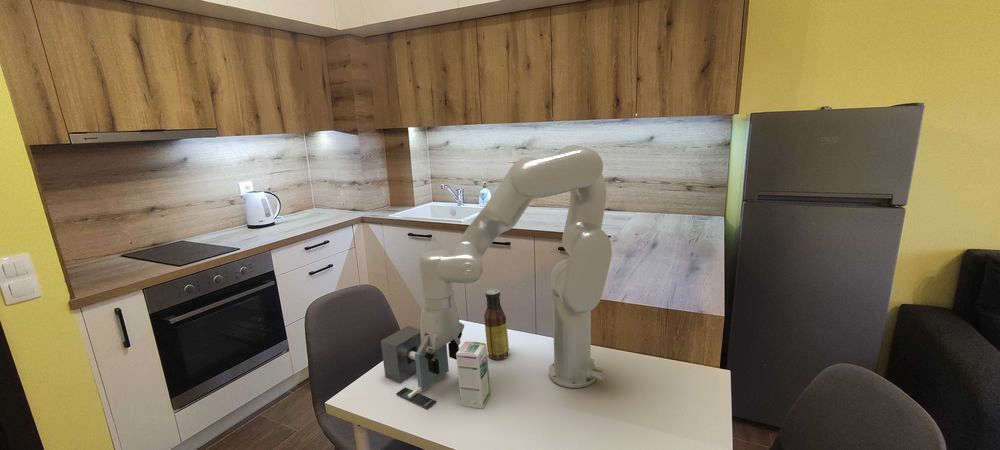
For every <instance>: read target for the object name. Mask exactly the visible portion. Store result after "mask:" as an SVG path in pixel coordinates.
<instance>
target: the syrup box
mask: <svg viewBox="0 0 1000 450" xmlns="http://www.w3.org/2000/svg"><path fill="white" fill-rule="evenodd" d="M456 358H457V360H456V367H457V375H458V376H457V377H458V385H459V386H458V388H459V395H460V404H461V406H463V407H467V408H474V409H481V410H482V409H484V407H485V405H486V404H487V401H488V400H489V398H490V396H491V389H490V388H491V387H490V376H489V363H488V351H487V343H485V342H481V341H479V342H478V341H464V342H463V345H461V346H460V347H459V350H458V352H457V353H456Z"/></svg>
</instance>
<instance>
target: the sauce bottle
mask: <svg viewBox="0 0 1000 450" xmlns="http://www.w3.org/2000/svg"><path fill="white" fill-rule="evenodd" d="M500 296H501V291H500V290H499V289H488V290H486V291H485V297H486V310H485V312H484V315H483V316H484V317H483V318H484V331H485V338H486V339H485V340H486V341H485V342H486V349H487V356H488V357H489V358H490V359H493V360H495V361H496V360H497V361H498V360H500V361H501V360H503V359H506V358H507V357H508V356H509V348H510V347H509V336H508V325H507V317H506V314H505V313H504V309H503V307H502V304H501V299H500V298H501V297H500Z"/></svg>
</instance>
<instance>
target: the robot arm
mask: <svg viewBox="0 0 1000 450" xmlns="http://www.w3.org/2000/svg"><path fill="white" fill-rule="evenodd" d="M603 168H604V163H603V159H602V158H601V156H600V154H599V153H598V152H597V151H595V150H594V149H592V148H588V147H584V146H582V145H576V144H575V145H574V144H571V145H566V146H564V147H562V148H561V149H560V150H559V152H557V155H553V156H552V155H551V156H547V157H543V158H537V159H536V158H534V157H528V156H525V157H521V158H519V159H517V160H516V161H515V162H514V163H513V165H512V166H511V167H510V168H509V170H508V172H507V173H506V174H505V176H504V177H503V178H502V181H501V182H500V183H499V185H498V186H497V188H496V189H495V191H494V192H493V194H492V195H491V197H490V199H489V200H488V201H487V202H486V204H485V205H484V207H483V208H482V209H481V210H480V212H479V213H478V214H477V216H476V217H475V218H474V219H473V220H472V221H471V223H470V224H469V226H468V227H467V228H466V230H465V231H464V233H463V234H462V236H461V237H460V239H459V241H458V242H457V243H456V245H455V246H454V248H453V251H452V254H450V253H449V252H447V251H446V250H443V249H441V250H440V249H436V250H435V249H434V250H428V251H425V252H423V253H421V255H420V256H419V260H418V261H419V270H420V282H421V291H422V302H423V303H422V304H423V308H422V309H421V314H420V323H419V324H420V328H419V329H420V331H421V345H420V347H419V348H418V350H417V352H418V353H419V354H421V355H422V356H423V357H425V358H427V359H428V369H429V372H432V373H434V374H437V375H438V374H439V373H440V371H439V361H438V359H436V358H437V354H438V349H439V348H441V347H443V346H444V345H446V344H447V345H448V346H447V349H448V358H449V359H453V360H456V361H457V358H456V353H457V352H458V350H459V349H460V346H459V345H460V344H461V338H462V336H463V332H464V328H465V324H464V323H462V322H460V316H459V311H458V306H457V304H456V301H455V295H454V294H455V289H454V284H473V283H476V282H477V281H479V280H480V279H481V278H482V276H483V274H484V262H483V257H484V255H485V254H486V252H487V251H488V249H489V247H490V246H491V245H492V243H493V242H494V241H495V240H496V239H497V238H498V237H499V236H500V235H501V234H503V233H504V232H507V231H509V230H511V229H513V228H514V227H515V226H516V225H517V224H518V222H519V220H520V218H521V217H522V216H523V214H524V213H525V211H526V210H527V209H528V207H529V206H530V205H531V203H532V202H533V200H535V199H543V198H548V197H552V196H557V195H560V194H565V193H568V192H570V198H569V205H568V209H567V211H568V212H567V215H566V221H565V225H564V229H563V232H562V237H561V242H562V247H563V248H564V250H565V251H566V253H567V254H568V255H569V258H565V259H562V260H559V261H558V262H557V263H556V264H555V265H554V267H553V268H552V269H551V270H552V271H551V274H550V280H549V281H550V290H551V291H550V292H551V300H552V301H551V302H552V318H553V319H552V327H553V361H554V362H553V363H551V364H550V366H548V367H549V368H548V376H549V379H550V380H551V381H552V382H553V383H555V384H556V385H559V386H560V387H565V388H568V389H569V388H570V389H579V388H585V387H587V386H590V385H591V384H593V383H594V382H595V381H596V380H597V381H601V382H605V379H606V374H605V369H604V368H603V367H599V366H596V365H595V359H594V358H591V357H592V356H591V354H592V353H591V350H592V345H591V344H592V343H591V341H592V340H591V339H592V338H591V337H592V336H591V333H592V332H591V331H592V330H591V328H592V327H591V325H592V324H591V321H592V320H591V319H592V316H591V315H592V313H591V311H592V310H593V309H594V310H595V308H596V307H597V306H598V305H599V304H600V303H599V302H600V301H601V299H602V296H603V294H604V289H605V286H606V283H607V277H608V274H609V270H610V266H611V261H612V256H613V255H612V253H613V249H612V242H611V238H610V237H609V236H608V234H607V233H606V232H605V231H604V230H603V229H602V226H603V220H604V216H605V215H604V214H605V208H606V202H607V184H606V181H605V178H604V175H603V170H604V169H603ZM426 348H427V350H426ZM431 349H433V354H430V353H431Z"/></svg>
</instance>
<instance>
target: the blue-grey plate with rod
mask: <svg viewBox="0 0 1000 450" xmlns="http://www.w3.org/2000/svg"><path fill="white" fill-rule="evenodd" d="M447 345H448V343H447V344H446V345H444V346H443V347H441V348H439V349H438V354H437V358H436V359H438V361H439V371H440V373H439V374H438V375H437V374H434V373H432V372H429V369H428V359H427V358H425V357H423V356H422V355H421V354H419V353H418V352H414V351H411V350H408V351H406V353H407V357H408V358H410V359H413V360H415V361H416V370H417V373H416V376H417V377H416V378H417V385H418V387H417V388H416V389H414V390H413V392H411V393H410V394H408V397H409V398H411V397H412V396H414V395H415V394H417V393H420V392H421V391H424V390H425V389H426V388H428V387H429V386H431V385H432V384H434V383H435V382H437V381H439V379H441V378H442V377H443V376H445V375H446V374H448V373H449V370H450V368H449V354H448V346H447ZM426 350H427V348H426ZM430 354H433V349H431V353H430Z"/></svg>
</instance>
